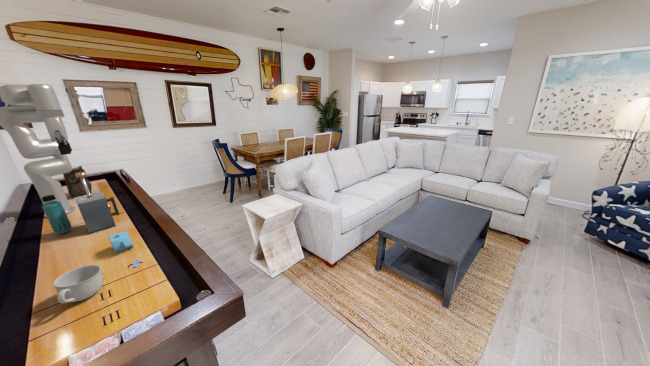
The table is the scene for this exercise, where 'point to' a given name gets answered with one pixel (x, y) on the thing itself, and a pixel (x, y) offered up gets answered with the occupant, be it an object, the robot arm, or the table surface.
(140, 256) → the table surface
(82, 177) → the plunger
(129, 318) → the table surface
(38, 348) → the table surface
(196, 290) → the table surface
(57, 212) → the beverage bottle
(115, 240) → the printed blue cube
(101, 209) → the coffee press
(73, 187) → the owl
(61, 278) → the teacup
